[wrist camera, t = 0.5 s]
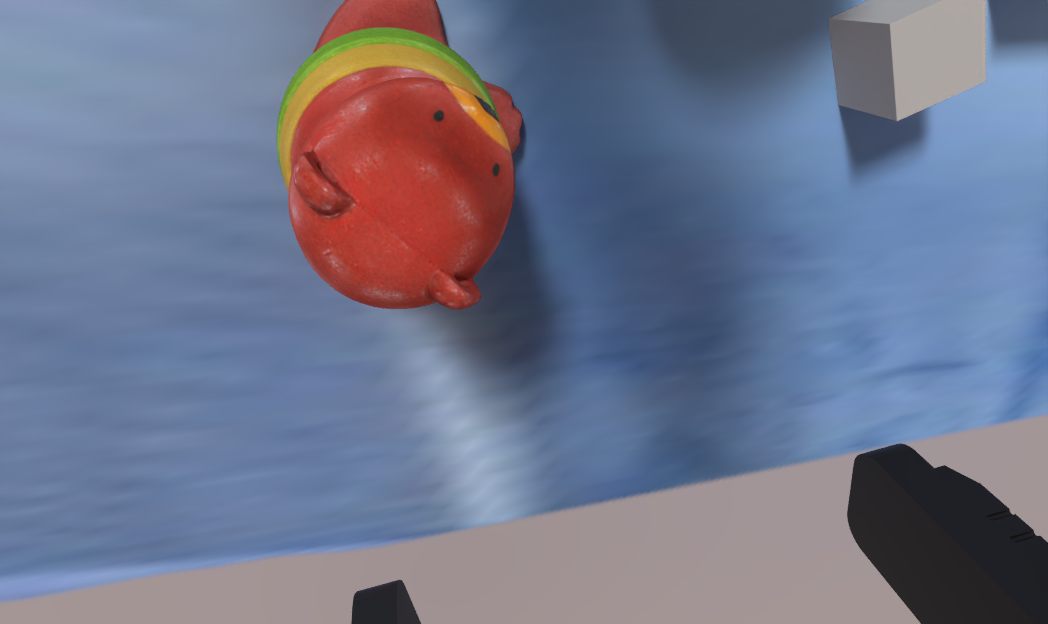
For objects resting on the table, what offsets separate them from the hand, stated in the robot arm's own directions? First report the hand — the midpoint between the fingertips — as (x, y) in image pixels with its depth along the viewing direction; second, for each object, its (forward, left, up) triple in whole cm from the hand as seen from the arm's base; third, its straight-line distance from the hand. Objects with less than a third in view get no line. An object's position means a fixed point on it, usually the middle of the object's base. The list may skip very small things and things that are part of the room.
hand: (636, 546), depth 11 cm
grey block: (-5, +24, -27) cm, 36 cm away
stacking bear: (-3, -3, -27) cm, 28 cm away
